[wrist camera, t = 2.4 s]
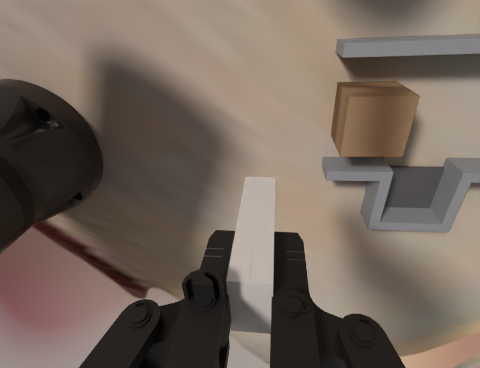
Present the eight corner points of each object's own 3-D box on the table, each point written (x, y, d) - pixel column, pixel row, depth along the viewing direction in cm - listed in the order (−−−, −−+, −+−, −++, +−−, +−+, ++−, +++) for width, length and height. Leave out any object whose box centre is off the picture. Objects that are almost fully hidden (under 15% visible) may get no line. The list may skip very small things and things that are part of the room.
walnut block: (330, 134, 28) (340, 156, 24) (337, 82, 26) (349, 97, 21) (383, 134, 28) (402, 156, 23) (395, 80, 25) (419, 95, 21)
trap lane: (316, 210, 33) (319, 227, 31) (348, -54, 21) (359, -62, 18) (533, 216, 31) (557, 235, 28) (724, -81, 18) (798, -95, 15)
